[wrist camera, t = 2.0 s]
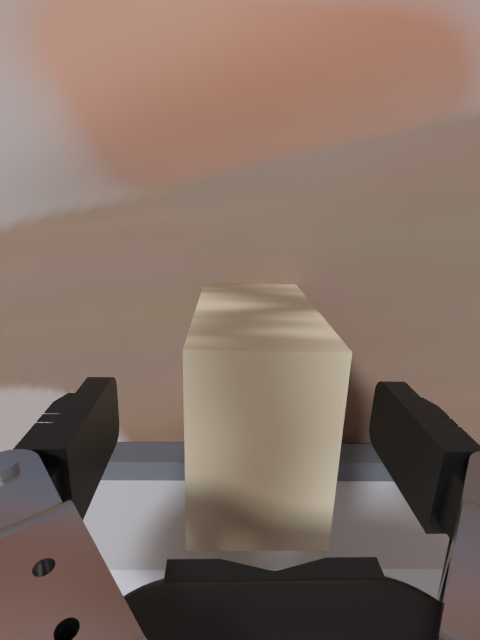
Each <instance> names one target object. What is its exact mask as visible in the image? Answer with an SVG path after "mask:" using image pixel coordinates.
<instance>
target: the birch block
mask: <svg viewBox="0 0 480 640" xmlns="http://www.w3.org/2000/svg"><path fill="white" fill-rule="evenodd" d="M351 360H352V351H351V350H350V349H349V348H348V347H347V345H346V344H345V343H344V342H343V341H342V339H341V338H340V337H339V336H338V335H337V333H336V332H335V331H334V330H333V329H332V327H331V326H330V325H329V324H328V323H327V321H326V320H325V319H324V318H323V317H322V315H321V314H320V313H319V312H318V311H317V309H316V308H315V307H314V306H313V305H312V303H311V302H310V301H309V300H308V298H307V297H306V296H305V295H304V294H303V292H302V291H301V290H300V289H299V288H298V286H297V285H291V284H244V283H204V285H203V288H202V291H201V294H200V298H199V301H198V304H197V307H196V310H195V313H194V316H193V319H192V323H191V326H190V329H189V332H188V335H187V338H186V341H185V344H184V348H183V393H184V451H185V508H186V551H328V550H329V542H330V534H331V525H332V517H333V509H334V501H335V492H336V484H337V476H338V467H339V459H340V451H341V443H342V434H343V426H344V418H345V409H346V401H347V393H348V384H349V376H350V368H351Z"/></svg>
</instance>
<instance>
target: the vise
mask: <svg viewBox="0 0 480 640" xmlns="http://www.w3.org/2000/svg"><path fill="white" fill-rule="evenodd" d="M83 522H84V524H85V526H86V528H87V529H88V531H89V533H90V535H91V537H92V539H93V541H94V542H95V544H96V546H97V548H98V550H99V552H100V554H101V556H102V557H103V559H104V561H105V563H106V565H107V567H108V569H109V570H110V572H111V574H112V576H113V578H114V580H115V582H116V584H117V585H118V587H119V589H120V591H121V593H122V595H123V596H125V595H126V594H128V593H129V592H131V591H133V590H135V589H137V588H139V587H141V586H143V585H146V584H148V583H151V582H153V581H156V580H160V579H163V578H164V576H165V570H166V563H167V559H223V560H228V561H232V562H236V563H241V564H245V565H250V566H254V567H258V568H263V569H267V570H273V571H277V570H282V569H286V568H289V567H293V566H297V565H300V564H304V563H308V562H311V561H315V560H319V559H322V558H328V557H377V559H378V562H379V564H380V566H381V569H382V571H383V573H384V576H386V577H390V578H393V579H396V580H399V581H402V582H405V583H407V584H409V585H412V586H414V587H416V588H418V589H420V590H422V591H424V592H425V593H427V594H429V595H431V596H432V597H434V598H435V599H437V594H438V589H439V584H440V579H441V575H442V570H443V565H444V560H445V555H446V550H447V546H448V542H449V537H448V535H447V534H426V533H425V531H424V530H423V528H422V526H421V525H420V523H419V521H418V520H417V518H416V517H415V515H414V513H413V512H412V510H411V508H410V507H409V505H408V503H407V502H406V500H405V499H404V497H403V495H402V494H401V492H400V490H399V489H398V487H397V485H396V484H395V482H394V481H393V479H392V477H391V476H390V474H389V472H388V471H387V469H386V468H385V466H384V464H383V463H382V461H381V459H380V458H379V456H378V454H377V453H376V451H375V450H374V448H373V446H372V444H341V451H340V459H339V467H338V476H337V484H336V492H335V501H334V509H333V517H332V525H331V534H330V542H329V550H328V551H186V508H185V451H184V442H117V444H116V446H115V449H114V451H113V453H112V456H111V458H110V460H109V462H108V465H107V467H106V469H105V471H104V474H103V476H102V478H101V480H100V483H99V485H98V487H97V490H96V492H95V494H94V496H93V499H92V501H91V503H90V505H89V508H88V510H87V512H86V515H85V517H84V519H83Z"/></svg>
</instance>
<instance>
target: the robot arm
mask: <svg viewBox="0 0 480 640" xmlns="http://www.w3.org/2000/svg"><path fill="white" fill-rule="evenodd" d="M369 433H370V440H371V444H372V446H373V448H374V450H375V451H376V453H377V454H378V456H379V458H380V459H381V461H382V463H383V464H384V466H385V468H386V469H387V471H388V472H389V474H390V476H391V477H392V479H393V481H394V482H395V484H396V485H397V487H398V489H399V490H400V492H401V494H402V495H403V497H404V499H405V500H406V502H407V503H408V505H409V507H410V508H411V510H412V512H413V513H414V515H415V517H416V518H417V520H418V521H419V523H420V525H421V526H422V528H423V530H424V531H425V533H426V534H447V535H448V537H449V542H448V546H447V550H446V555H445V560H444V565H443V570H442V575H441V579H440V584H439V589H438V594H437V599H435V598H434V597H432V596H431V595H429V594H427V593H425V592H424V591H422V590H420V589H418V588H416V587H414V586H412V585H409V584H407V583H405V582H402V581H399V580H396V579H393V578H390V577H386V576H384V573H383V571H382V569H381V566H380V564H379V562H378V559H377V557H328V558H322V559H319V560H315V561H311V562H308V563H304V564H300V565H297V566H293V567H289V568H286V569H282V570H277V571H273V570H267V569H263V568H258V567H254V566H250V565H245V564H241V563H236V562H232V561H228V560H223V559H167V563H166V570H165V576H164V578H163V579H160V580H156V581H153V582H151V583H148V584H146V585H143V586H141V587H139V588H137V589H135V590H133V591H131V592H129V593H128V594H126V595H125V596H123V595H122V593H121V591H120V589H119V587H118V585H117V584H116V582H115V580H114V578H113V576H112V574H111V572H110V570H109V569H108V567H107V565H106V563H105V561H104V559H103V557H102V556H101V554H100V552H99V550H98V548H97V546H96V544H95V542H94V541H93V539H92V537H91V535H90V533H89V531H88V529H87V528H86V526H85V524H84V522H83V519H84V517H85V515H86V512H87V510H88V508H89V505H90V503H91V501H92V499H93V496H94V494H95V492H96V490H97V487H98V485H99V483H100V480H101V478H102V476H103V474H104V471H105V469H106V467H107V465H108V462H109V460H110V458H111V456H112V453H113V451H114V449H115V446H116V444H117V440H118V435H119V414H118V399H117V385H116V380H115V378H114V377H88V378H87V379H86V380H85V381H84V383H83V384H82V385H81V386H80V388H79V389H78V390H77V392H76V393H68V394H66V395H64V396H63V397H61V398H59V399H57V400H56V401H54V402H53V403H52V404H51V405H50V407H49V408H48V409H47V410H46V411H45V414H43V415H42V416H41V417H40V418H39V419H38V421H37V423H35V424H34V425H33V427H32V428H31V429H30V430H29V431H28V432H27V434H26V435H25V436H24V437H23V438H22V440H21V441H20V442H19V443H18V444H17V445H16V447H15V448H14V449H13V450H7V451H3V452H0V640H480V445H479V444H477V443H476V442H475V441H474V440H473V439H472V438H471V437H470V436H469V435H468V434H467V433H466V432H465V431H464V430H463V429H462V428H461V427H458V425H457V424H456V423H455V422H454V421H453V420H452V419H449V416H448V415H447V414H446V413H445V412H444V411H443V410H442V409H441V408H439V407H438V406H437V405H435V404H433V403H431V402H429V401H428V400H426V399H424V398H421V397H420V396H419V395H418V394H417V393H416V392H415V391H414V390H413V389H412V388H411V387H410V386H409V385H408V384H407V383H405V382H378V384H377V385H376V388H375V394H374V400H373V407H372V413H371V420H370V427H369Z"/></svg>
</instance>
